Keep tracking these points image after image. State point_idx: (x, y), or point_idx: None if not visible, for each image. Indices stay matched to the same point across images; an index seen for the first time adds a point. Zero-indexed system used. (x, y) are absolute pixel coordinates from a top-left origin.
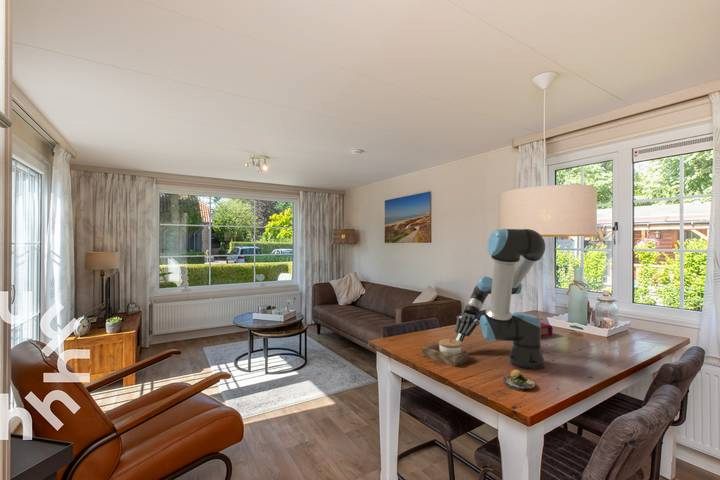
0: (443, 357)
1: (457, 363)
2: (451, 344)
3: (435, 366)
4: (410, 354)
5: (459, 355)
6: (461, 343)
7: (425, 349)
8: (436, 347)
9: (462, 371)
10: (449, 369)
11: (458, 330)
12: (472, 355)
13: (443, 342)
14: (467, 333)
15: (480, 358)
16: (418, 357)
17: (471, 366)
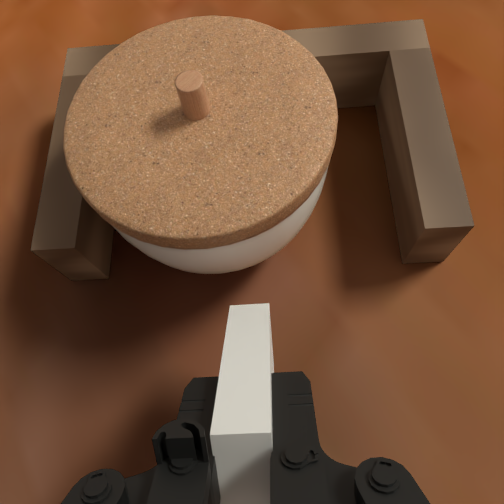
0: None
1: None
2: (134, 57)
3: None
4: (478, 36)
5: (65, 113)
6: (78, 189)
7: (379, 28)
8: (406, 191)
9: (23, 80)
10: None
11: (318, 492)
12: (106, 445)
13: (240, 44)
14: (77, 488)
15: (7, 427)
16: None
17: (6, 190)
